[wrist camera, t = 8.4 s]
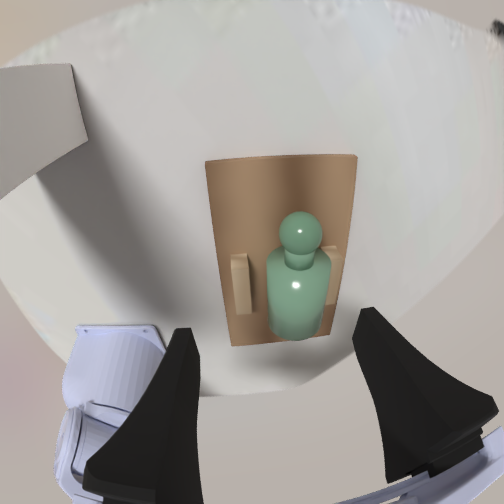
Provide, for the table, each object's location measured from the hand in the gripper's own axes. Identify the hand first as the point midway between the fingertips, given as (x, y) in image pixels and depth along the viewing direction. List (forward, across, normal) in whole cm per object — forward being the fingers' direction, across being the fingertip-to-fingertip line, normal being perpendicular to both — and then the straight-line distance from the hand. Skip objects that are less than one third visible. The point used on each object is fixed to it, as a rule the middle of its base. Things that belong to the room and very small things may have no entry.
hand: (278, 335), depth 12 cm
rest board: (+10, -2, +4) cm, 12 cm away
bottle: (+8, -3, +8) cm, 11 cm away
